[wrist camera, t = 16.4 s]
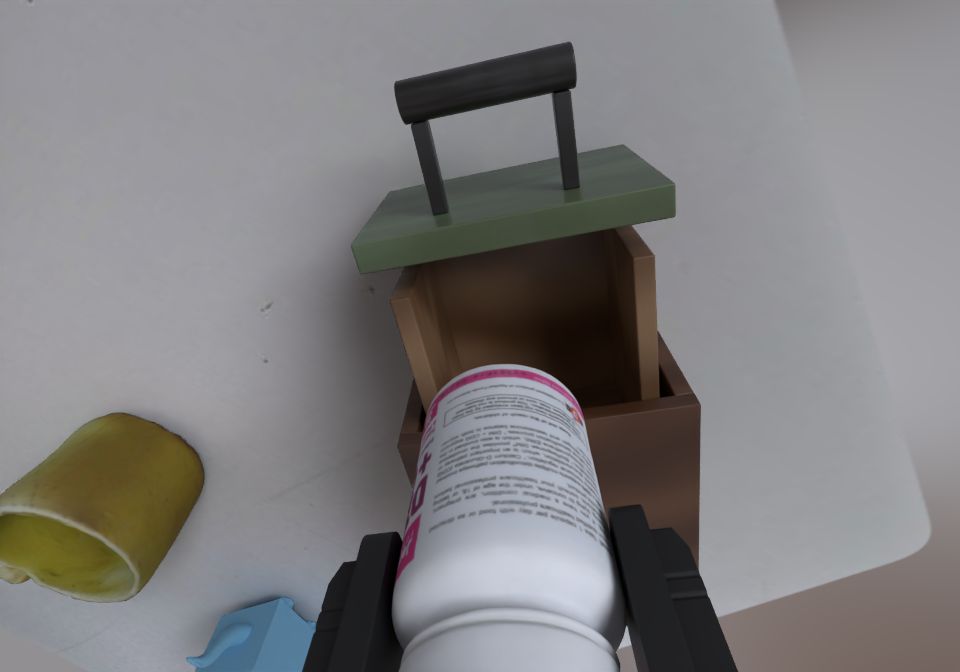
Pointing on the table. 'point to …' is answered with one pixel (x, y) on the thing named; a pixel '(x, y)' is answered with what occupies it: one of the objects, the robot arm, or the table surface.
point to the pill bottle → (507, 535)
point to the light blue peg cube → (258, 640)
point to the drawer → (522, 246)
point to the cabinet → (628, 451)
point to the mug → (100, 510)
